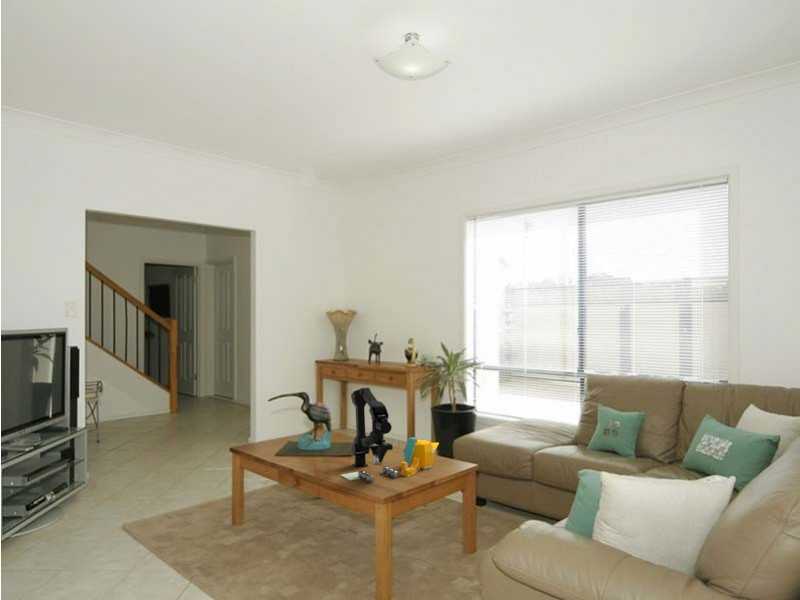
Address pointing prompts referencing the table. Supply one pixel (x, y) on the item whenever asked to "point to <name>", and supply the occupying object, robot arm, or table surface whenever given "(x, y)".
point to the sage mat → (351, 476)
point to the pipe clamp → (412, 469)
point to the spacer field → (369, 478)
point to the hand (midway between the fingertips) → (378, 461)
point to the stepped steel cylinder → (376, 460)
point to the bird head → (420, 452)
